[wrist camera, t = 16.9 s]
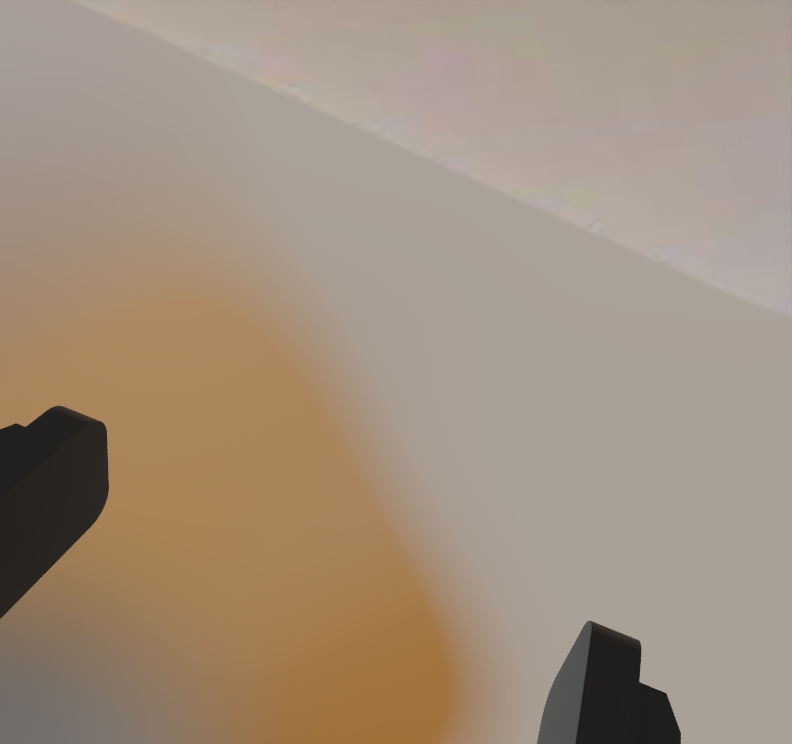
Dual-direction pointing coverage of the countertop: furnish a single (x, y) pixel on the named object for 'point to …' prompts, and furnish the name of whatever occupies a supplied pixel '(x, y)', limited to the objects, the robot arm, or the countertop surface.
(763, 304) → the countertop surface
